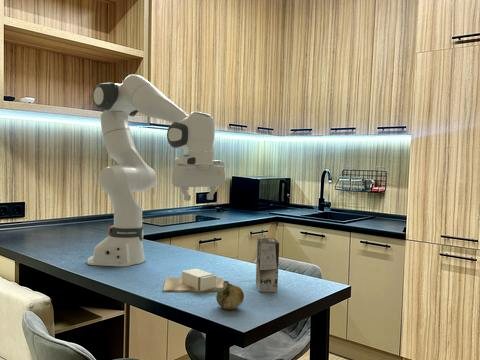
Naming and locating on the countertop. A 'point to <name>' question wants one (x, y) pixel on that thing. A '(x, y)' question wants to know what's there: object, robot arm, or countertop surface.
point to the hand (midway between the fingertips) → (198, 200)
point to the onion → (229, 296)
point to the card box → (199, 279)
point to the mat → (186, 286)
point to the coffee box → (267, 264)
